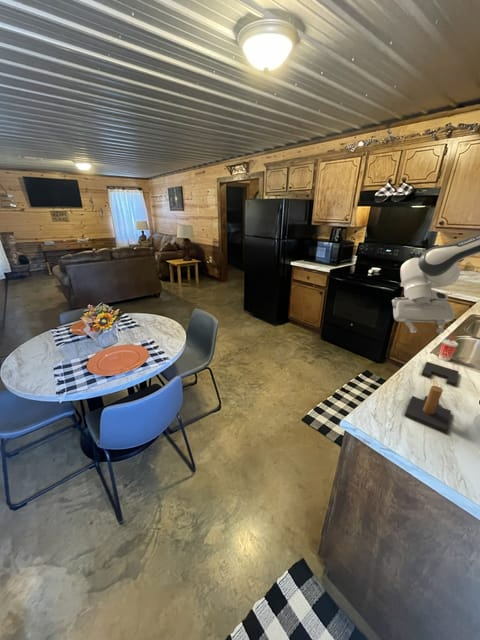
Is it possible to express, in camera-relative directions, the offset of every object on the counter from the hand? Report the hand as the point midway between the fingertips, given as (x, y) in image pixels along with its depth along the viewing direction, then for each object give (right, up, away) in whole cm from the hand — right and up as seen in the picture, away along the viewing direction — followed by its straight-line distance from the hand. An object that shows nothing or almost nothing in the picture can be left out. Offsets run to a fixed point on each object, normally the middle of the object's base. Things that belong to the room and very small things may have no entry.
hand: (427, 332), depth 94 cm
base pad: (+21, -20, +22) cm, 36 cm away
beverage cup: (+33, -15, +35) cm, 50 cm away
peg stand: (+1, -29, 0) cm, 29 cm away
